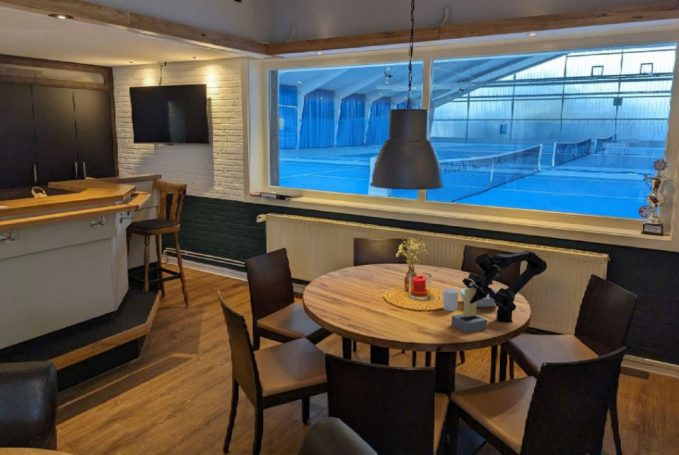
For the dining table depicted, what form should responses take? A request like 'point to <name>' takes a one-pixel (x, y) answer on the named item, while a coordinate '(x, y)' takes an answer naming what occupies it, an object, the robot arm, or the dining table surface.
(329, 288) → the dining table surface
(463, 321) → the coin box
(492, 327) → the dining table surface
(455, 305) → the white cup
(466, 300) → the pale yellow block
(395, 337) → the dining table surface
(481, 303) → the serving bowl
